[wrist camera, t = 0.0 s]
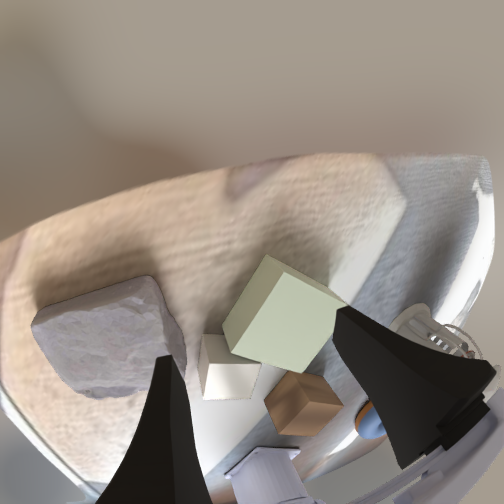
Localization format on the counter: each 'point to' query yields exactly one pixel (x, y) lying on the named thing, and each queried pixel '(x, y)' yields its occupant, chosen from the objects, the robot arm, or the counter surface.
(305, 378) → the walnut cube
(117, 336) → the stone block
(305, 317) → the sage block
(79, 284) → the counter surface
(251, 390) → the grey cube
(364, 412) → the doughnut
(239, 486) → the robot arm
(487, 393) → the french press
